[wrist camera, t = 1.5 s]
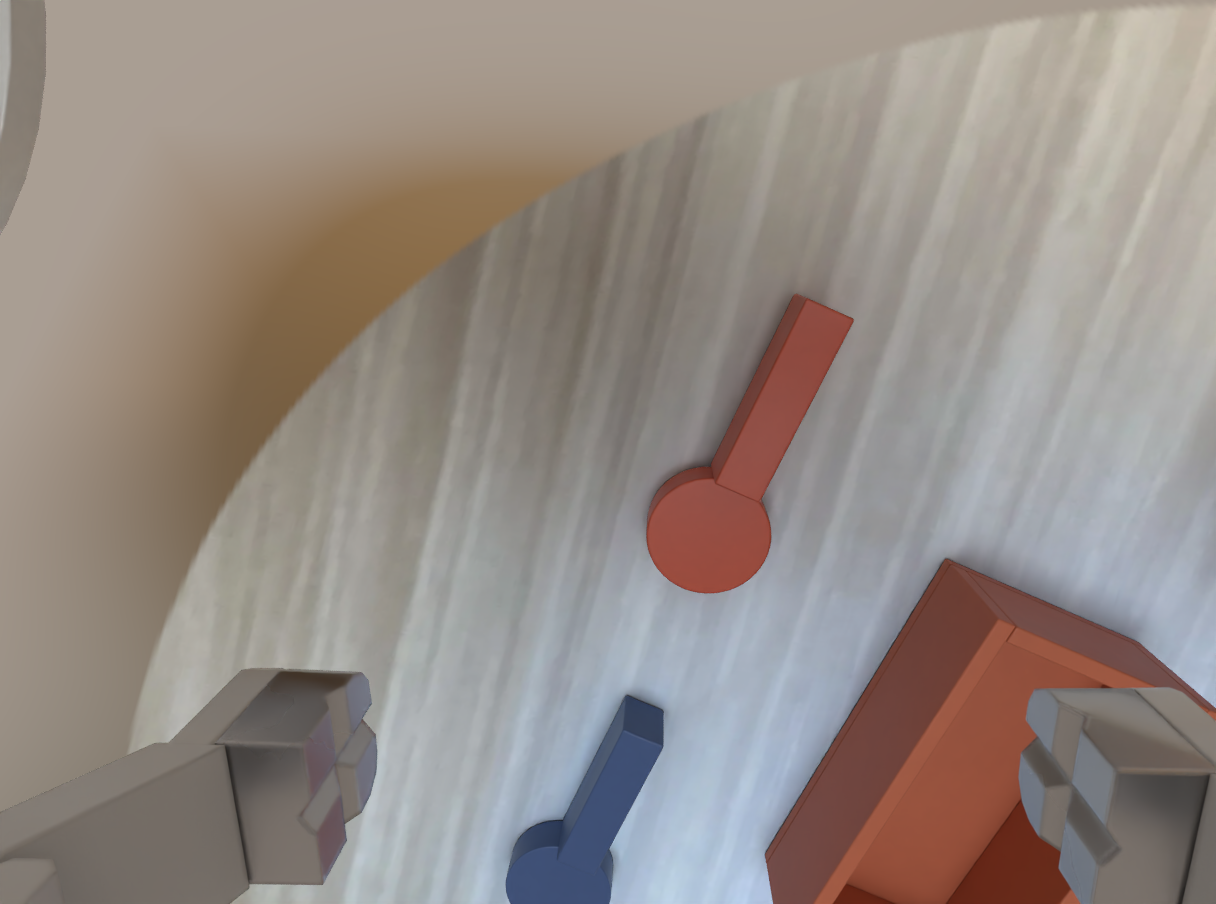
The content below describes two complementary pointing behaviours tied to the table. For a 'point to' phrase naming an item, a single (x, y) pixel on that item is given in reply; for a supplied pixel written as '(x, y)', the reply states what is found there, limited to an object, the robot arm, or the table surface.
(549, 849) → the blue spoon
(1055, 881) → the red bin
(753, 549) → the red spoon
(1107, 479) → the table surface
